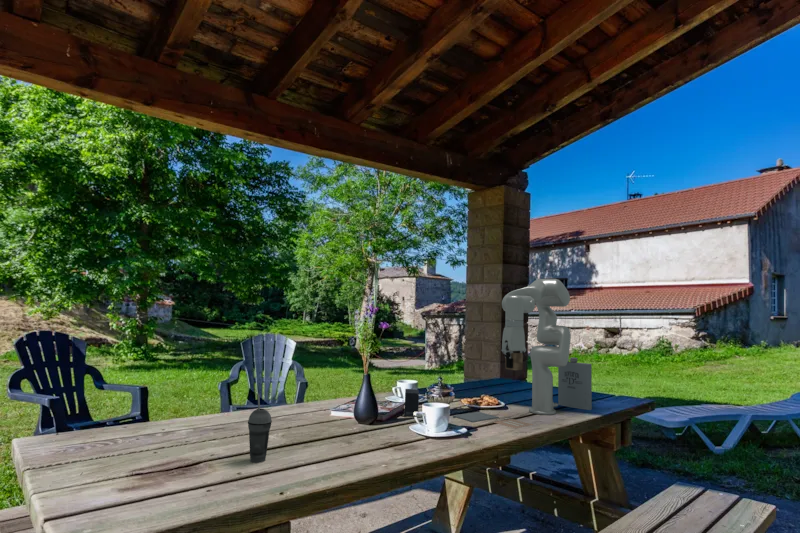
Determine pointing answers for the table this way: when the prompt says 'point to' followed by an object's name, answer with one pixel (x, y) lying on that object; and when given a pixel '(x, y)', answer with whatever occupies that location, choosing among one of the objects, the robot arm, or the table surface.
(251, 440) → the beverage cup
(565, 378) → the flask
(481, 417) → the slate board
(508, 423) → the tile
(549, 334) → the robot arm
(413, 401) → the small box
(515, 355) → the walnut block
